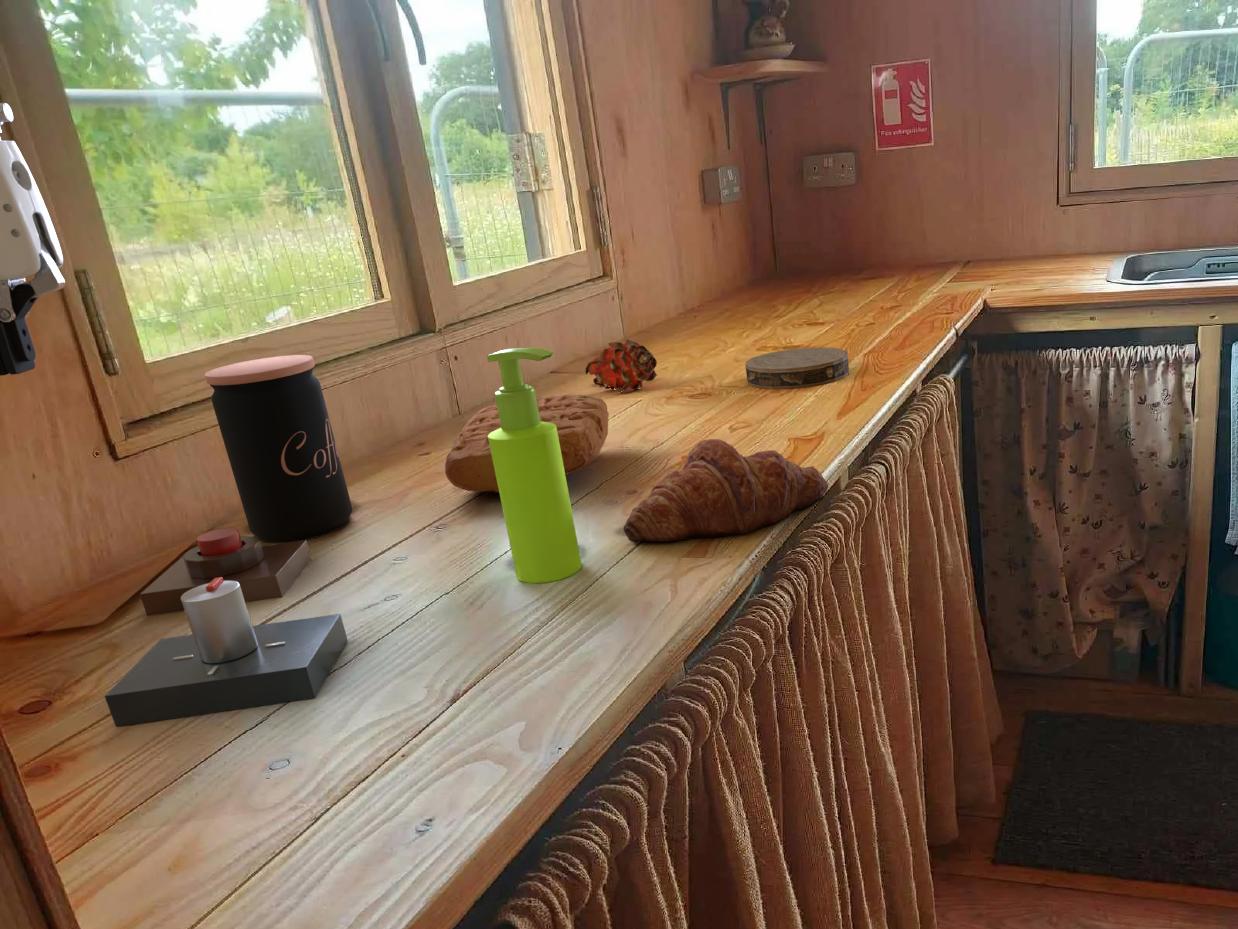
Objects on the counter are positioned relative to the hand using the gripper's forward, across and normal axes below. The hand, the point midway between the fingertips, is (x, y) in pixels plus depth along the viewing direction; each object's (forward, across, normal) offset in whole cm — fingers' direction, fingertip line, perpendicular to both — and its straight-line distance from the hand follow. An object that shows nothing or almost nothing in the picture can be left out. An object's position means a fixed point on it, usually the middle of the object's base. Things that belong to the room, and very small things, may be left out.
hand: (15, 371), depth 87 cm
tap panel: (+23, -16, +15) cm, 32 cm away
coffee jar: (+23, -11, -25) cm, 36 cm away
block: (+23, -9, -8) cm, 26 cm away
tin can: (+21, -74, -72) cm, 105 cm away
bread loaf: (+22, -36, -33) cm, 54 cm away
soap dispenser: (+22, -40, +1) cm, 45 cm away
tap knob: (+20, -16, +15) cm, 30 cm away
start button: (+19, -9, -8) cm, 23 cm away
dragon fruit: (+22, -47, -79) cm, 95 cm away
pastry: (+21, -57, -7) cm, 61 cm away
